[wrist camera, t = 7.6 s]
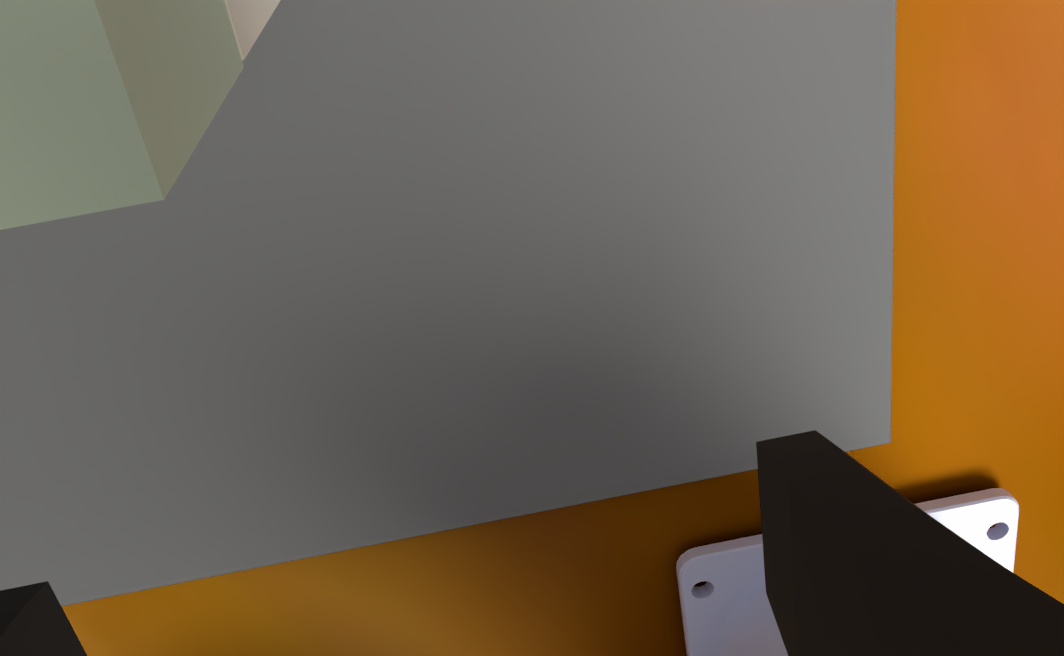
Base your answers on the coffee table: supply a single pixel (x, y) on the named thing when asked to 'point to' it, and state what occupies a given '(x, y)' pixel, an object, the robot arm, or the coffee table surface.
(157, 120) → the sage brick
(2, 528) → the mat
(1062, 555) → the coffee table surface
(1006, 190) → the coffee table surface
